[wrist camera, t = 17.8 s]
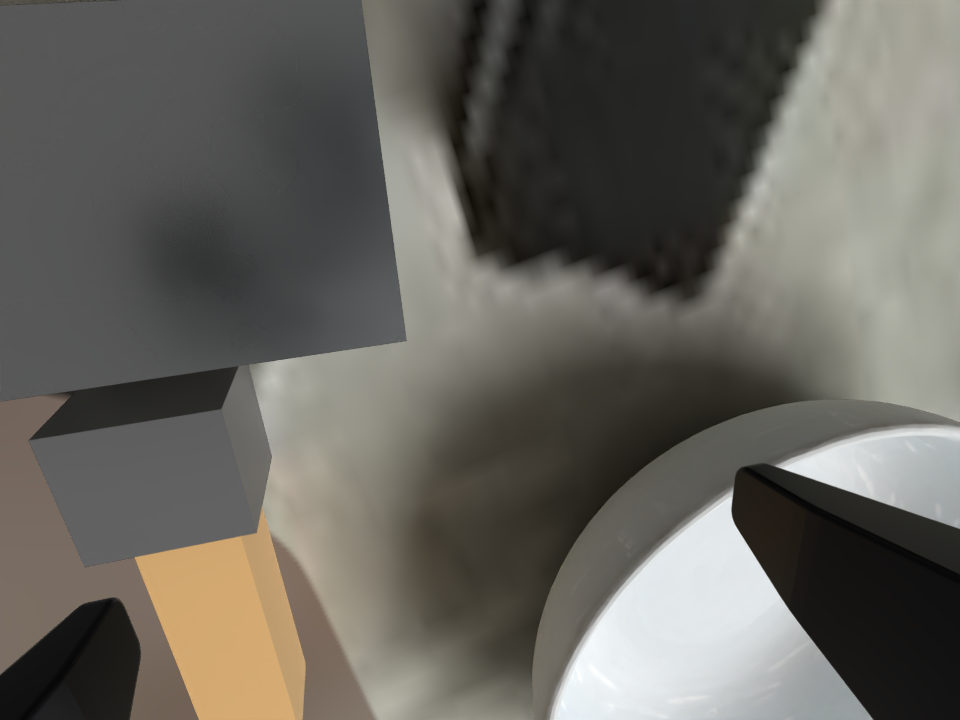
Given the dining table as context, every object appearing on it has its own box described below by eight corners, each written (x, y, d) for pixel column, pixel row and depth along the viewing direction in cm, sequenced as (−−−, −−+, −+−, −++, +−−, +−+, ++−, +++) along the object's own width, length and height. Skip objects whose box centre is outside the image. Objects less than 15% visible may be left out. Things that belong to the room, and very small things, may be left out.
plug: (244, 350, 19) (221, 409, 15) (324, 659, 24) (321, 759, 21) (93, 373, 18) (28, 440, 14) (210, 686, 24) (186, 795, 20)
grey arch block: (352, 32, 16) (359, -10, 11) (387, 278, 19) (406, 340, 14) (-251, 66, 14) (-625, 32, 8) (-111, 342, 16) (-323, 449, 11)
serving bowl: (530, 766, 30) (580, 934, 24) (449, 423, 22) (494, 547, 15) (881, 639, 33) (1007, 761, 27) (933, 289, 24) (1139, 348, 18)
